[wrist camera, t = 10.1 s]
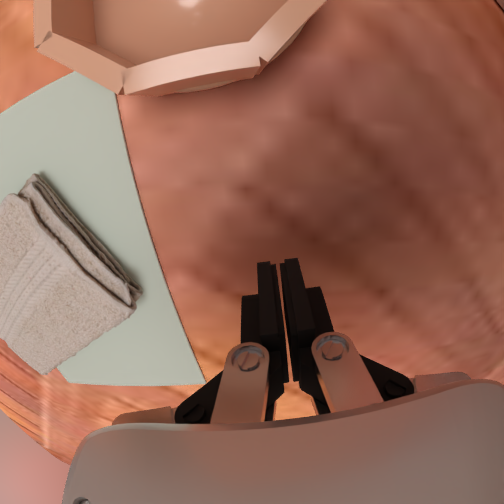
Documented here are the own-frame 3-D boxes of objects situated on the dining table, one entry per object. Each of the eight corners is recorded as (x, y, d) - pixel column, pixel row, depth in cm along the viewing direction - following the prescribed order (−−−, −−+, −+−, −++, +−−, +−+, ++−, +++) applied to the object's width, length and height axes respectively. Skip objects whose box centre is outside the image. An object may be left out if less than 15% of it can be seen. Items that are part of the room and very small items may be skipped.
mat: (-43, 147, 12) (-45, 148, 12) (110, 57, 12) (108, 56, 12) (69, 381, 25) (68, 382, 25) (206, 381, 24) (206, 383, 24)
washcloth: (155, 284, 19) (144, 314, 16) (52, 365, 23) (42, 387, 21) (37, 157, 14) (8, 170, 11) (-27, 289, 19) (-42, 307, 16)
